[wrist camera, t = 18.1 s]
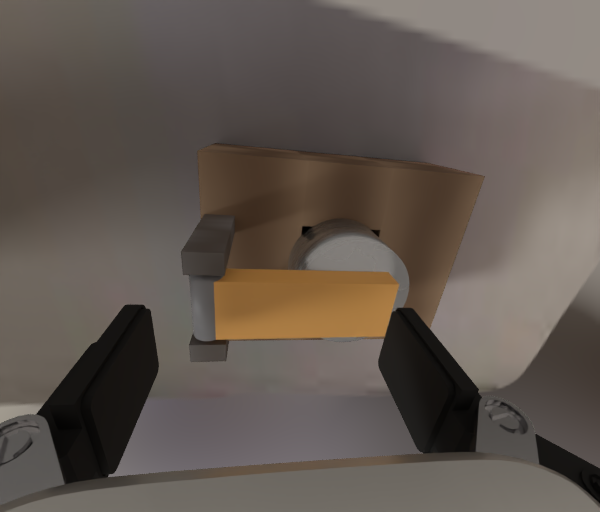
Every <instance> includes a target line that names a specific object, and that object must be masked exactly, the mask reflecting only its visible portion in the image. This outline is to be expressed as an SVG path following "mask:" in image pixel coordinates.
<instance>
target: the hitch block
mask: <svg viewBox="0 0 600 512" xmlns="http://www.w3.org/2000/svg"><path fill="white" fill-rule="evenodd" d="M197 153H198V172H199V192H200V211H201V220H200V222H199V224H198V225H197V227H196V228H195V230H194V232H193V233H192V235H191V237H190V238H189V240H188V241H187V243H186V245H185V246H184V248H183V249H182V251H181V258H182V269H183V275H209V276H225V272H226V269H271V270H288V261H289V256H290V253H291V250H292V248H293V246H294V244H295V243H296V241H297V240H298V239H299V237H300V236H301V233H302V226H311V227H312V226H314V225H316V224H318V223H320V222H323V221H326V220H330V219H338V218H344V219H351V220H355V221H357V222H360V223H362V224H364V225H365V226H367V227H368V228H369V229H370V230H372V231H373V232H374V233H375V234H376V235H377V236H378V237H379V238H380V239H381V240H382V241H383V242H384V243H385V244H386V245H387V246H388V247H389V248H390V249H391V250H392V251H393V252H394V253H396V254H397V255H398V257H399V258H400V259H401V260H402V262H403V263H404V265H405V267H406V269H407V272H408V276H409V292H408V296H407V299H406V302H405V304H404V306H403V308H413V309H414V310H415V311H416V313H417V314H418V315H419V316H420V318H421V319H422V320H423V321H424V323H425V324H426V325H427V326H428V327H429V329H430V327H431V324H432V321H433V319H434V316H435V313H436V310H437V308H438V305H439V302H440V299H441V296H442V294H443V291H444V288H445V285H446V283H447V280H448V277H449V274H450V271H451V269H452V266H453V263H454V260H455V258H456V255H457V252H458V249H459V247H460V244H461V241H462V238H463V235H464V233H465V230H466V227H467V224H468V222H469V219H470V216H471V213H472V210H473V208H474V205H475V202H476V199H477V197H478V194H479V191H480V188H481V185H482V183H483V180H484V177H485V176H481V175H477V174H473V173H469V172H464V171H460V170H456V169H452V168H447V167H443V166H439V165H435V164H430V163H421V162H410V161H400V160H389V159H378V158H368V157H357V156H346V155H335V154H325V153H314V152H303V151H292V150H282V149H271V148H260V147H250V146H239V145H228V144H217V143H215V144H212V145H210V146H208V147H205V148H203V149H201V150H198V151H197ZM387 328H388V327H387ZM386 331H387V330H386ZM385 335H386V334H385ZM384 338H385V336H383V337H367V338H364V339H384ZM321 339H322V338H277V339H225V340H213V341H201V340H198V339H197V338H195V336H194V333H193V335H192V338H191V341H190V344H189V350H190V361H191V362H210V361H226V358H227V351H228V344H229V341H240V340H321Z"/></svg>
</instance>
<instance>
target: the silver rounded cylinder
mask: <svg viewBox="0 0 600 512" xmlns="http://www.w3.org/2000/svg"><path fill="white" fill-rule="evenodd" d="M288 270H317V271H364V272H389V273H390V275H391V276H392V277H393V278H394V279H395V280H396V281H397V283H398V284H399V287H398V291H397V295H396V298H395V302H394V305H393V309H392V312H393V311H395V310H396V309H397V308H403V306H404V304H405V302H406V299H407V296H408V292H409V276H408V272H407V269H406V267H405V265H404V263H403V262H402V260H401V259H400V258H399V257H398V255H397V254H396V253H394V252H393V251H392V250H391V249H390V248H389V247H388V246H387V245H386V244H385V243H384V242H383V241H382V240H381V239H380V238H379V237H378V236H377V235H376V234H375V233H374V232H373V231H372V230H370V229H369V228H368V227H367V226H365V225H364V224H362V223H360V222H357V221H355V220H351V219H344V218H338V219H330V220H326V221H323V222H320V223H318V224H316V225H314V226H312V227H311V226H302V233H301V236H300V237H299V239H298V240H297V241H296V243H295V244H294V246H293V248H292V250H291V253H290V256H289V261H288ZM392 312H391V314H392ZM390 317H391V316H390ZM389 321H390V319H389ZM388 324H389V323H388ZM364 338H367V337H330V338H322V339H325V340H329V341H334V342H351V341H357V340H361V339H364Z"/></svg>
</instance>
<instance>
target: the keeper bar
mask: <svg viewBox="0 0 600 512" xmlns="http://www.w3.org/2000/svg"><path fill="white" fill-rule="evenodd" d="M189 280H190V294H191V307H192V320H193V333H194V336H195V338H197V339H198V340H201V341H213V340H225V339H277V338H330V337H383V336H385V334H386V330H387V327H388V323H389V319H390V316H391V312H392V309H393V305H394V302H395V298H396V295H397V291H398V287H399V284H398V283H397V281H396V280H395V279H394V278H393V277H392V276H391V275H390V273H389V272H364V271H317V270H271V269H226V272H225V276H209V275H189Z"/></svg>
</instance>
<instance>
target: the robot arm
mask: <svg viewBox="0 0 600 512" xmlns="http://www.w3.org/2000/svg"><path fill="white" fill-rule="evenodd" d="M378 365H379V369H380V371H381V373H382V375H383V377H384V380H385V382H386V384H387V386H388V388H389V390H390V392H391V394H392V396H393V398H394V401H395V403H396V405H397V407H398V409H399V411H400V413H401V415H402V418H403V420H404V422H405V424H406V426H407V428H408V430H409V432H410V434H411V437H412V439H413V441H414V443H415V445H416V447H417V449H418V450H419V451H420V452H423V454H407V455H392V456H377V457H361V458H346V459H333V460H318V461H304V462H290V463H276V464H263V465H249V466H235V467H223V468H209V469H197V470H184V471H171V472H159V473H149V474H139V475H128V476H118V477H108V475H109V474H113V473H114V472H115V471H116V469H117V467H118V465H119V463H120V460H121V458H122V456H123V453H124V451H125V449H126V446H127V444H128V442H129V439H130V437H131V435H132V432H133V430H134V427H135V425H136V423H137V420H138V418H139V416H140V413H141V411H142V409H143V406H144V404H145V402H146V399H147V397H148V395H149V392H150V390H151V387H152V385H153V383H154V380H155V378H156V376H157V373H158V368H159V363H158V356H157V349H156V343H155V336H154V330H153V323H152V317H151V311H150V309H146V308H145V306H144V305H125V306H124V307H123V308H122V309H121V311H120V312H119V313H118V315H117V316H116V317H115V319H114V320H113V321H112V323H111V324H110V325H109V327H108V328H107V329H106V330H105V332H104V333H103V334H102V336H101V337H100V338H99V340H98V341H97V342H95V343H93V344H91V345H90V346H89V347H88V349H87V350H86V351H85V353H84V354H83V355H82V356H81V358H80V359H79V360H78V362H77V363H76V364H75V365H74V367H73V368H72V369H71V370H70V372H69V373H68V374H67V376H66V377H65V378H64V379H63V381H62V382H61V383H60V385H59V386H58V387H57V388H56V390H55V391H54V392H53V393H52V395H51V396H50V397H49V399H48V400H47V401H46V402H45V404H44V405H43V406H42V408H41V409H40V410H39V411H38V413H37V414H36V415H33V414H32V415H31V414H30V415H29V414H28V415H23V416H18V417H15V418H12V419H9V420H7V421H4V422H2V423H1V424H0V512H600V468H598V467H596V466H594V465H592V464H590V463H588V462H587V461H585V460H583V459H581V458H579V457H577V456H576V455H574V454H572V453H570V452H568V451H566V450H565V449H562V448H561V447H559V446H557V445H555V444H553V443H551V442H550V441H548V440H546V439H544V438H542V437H540V436H539V435H537V434H535V430H534V427H533V424H532V422H531V421H530V420H529V418H528V416H527V415H525V413H523V411H521V410H520V409H519V408H518V407H516V406H515V405H514V404H512V403H510V402H508V401H507V400H505V399H502V398H499V397H496V396H485V397H483V398H482V397H481V396H480V395H479V393H478V390H479V389H478V388H477V387H476V385H475V384H474V383H473V382H472V380H471V379H470V378H469V377H468V376H467V374H466V373H465V372H464V371H463V369H462V368H461V367H460V366H459V364H458V363H457V362H456V361H455V360H454V358H453V357H452V356H451V355H450V353H449V352H448V351H447V350H446V348H445V347H444V346H443V345H442V343H441V342H440V341H439V340H438V339H437V337H436V336H435V335H434V334H433V332H432V331H431V330H430V329H429V327H428V326H427V325H426V324H425V323H424V321H423V320H422V319H421V318H420V316H419V315H418V314H417V313H416V311H415V310H414V309H413V308H397V309H396V310H395V311H393V312H392V314H391V317H390V321H389V324H388V328H387V331H386V335H385V338H384V342H383V346H382V349H381V353H380V356H379V360H378Z"/></svg>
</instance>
